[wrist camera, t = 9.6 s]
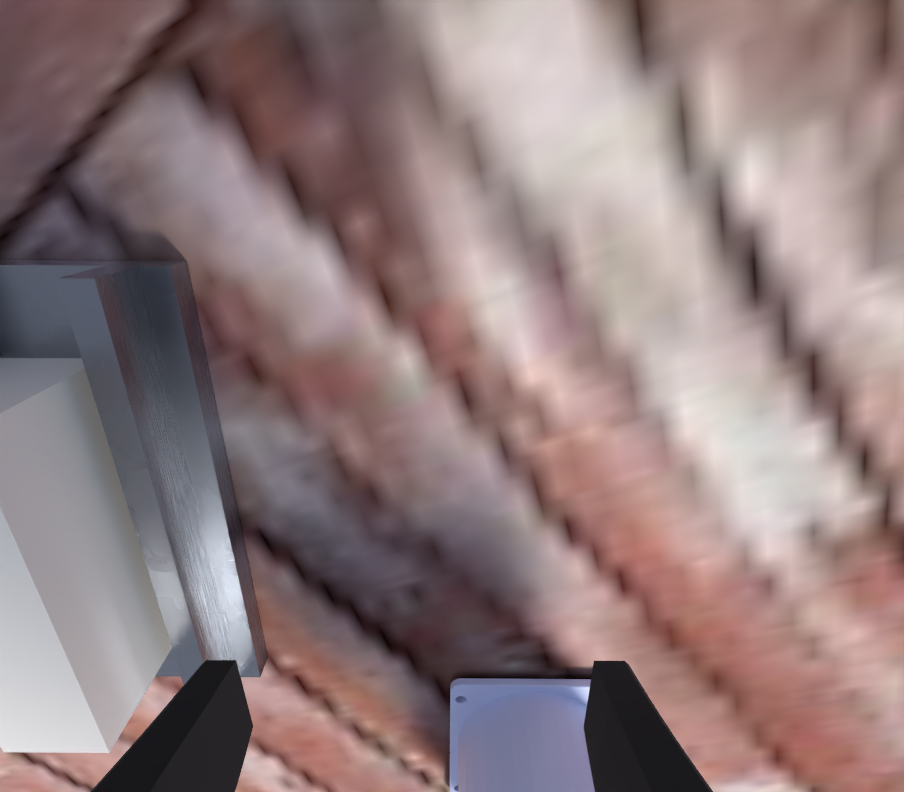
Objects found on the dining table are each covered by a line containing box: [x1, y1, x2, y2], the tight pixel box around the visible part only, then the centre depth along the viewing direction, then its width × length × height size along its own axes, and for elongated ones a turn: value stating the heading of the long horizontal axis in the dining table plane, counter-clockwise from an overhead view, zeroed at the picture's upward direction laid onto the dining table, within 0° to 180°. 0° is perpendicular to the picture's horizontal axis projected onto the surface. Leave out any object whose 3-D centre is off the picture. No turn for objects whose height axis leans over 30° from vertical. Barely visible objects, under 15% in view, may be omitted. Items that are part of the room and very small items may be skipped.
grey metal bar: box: [0, 358, 172, 753], centre depth 16 cm, size 12×4×5 cm, turn 0°
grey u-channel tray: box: [0, 260, 268, 685], centre depth 18 cm, size 18×9×3 cm, turn 0°
